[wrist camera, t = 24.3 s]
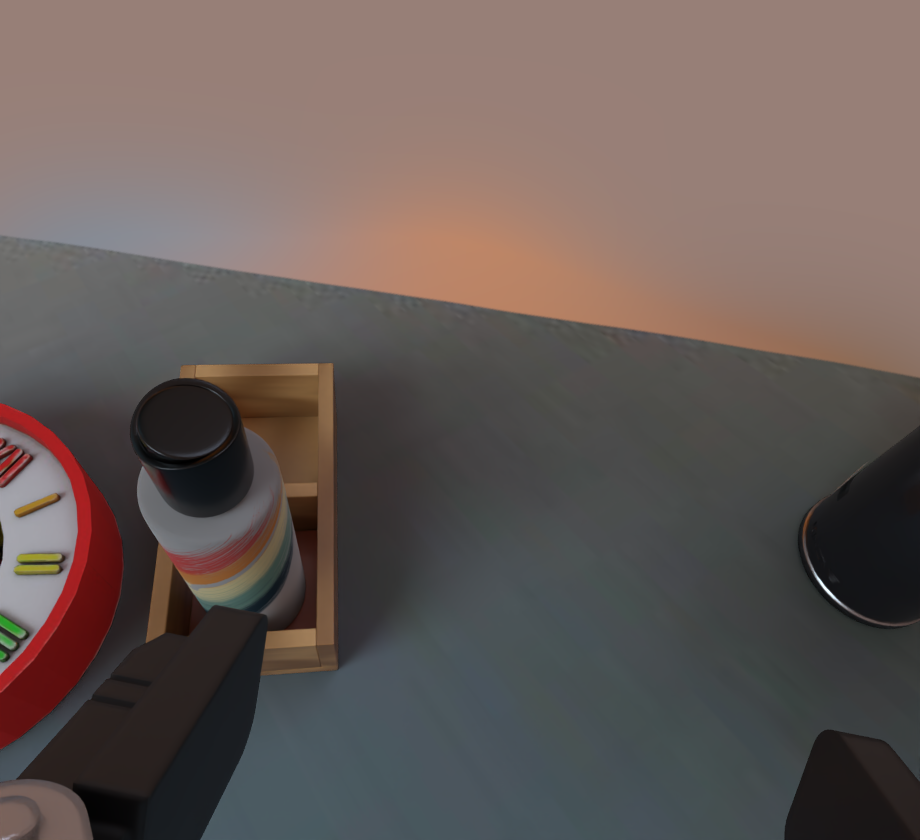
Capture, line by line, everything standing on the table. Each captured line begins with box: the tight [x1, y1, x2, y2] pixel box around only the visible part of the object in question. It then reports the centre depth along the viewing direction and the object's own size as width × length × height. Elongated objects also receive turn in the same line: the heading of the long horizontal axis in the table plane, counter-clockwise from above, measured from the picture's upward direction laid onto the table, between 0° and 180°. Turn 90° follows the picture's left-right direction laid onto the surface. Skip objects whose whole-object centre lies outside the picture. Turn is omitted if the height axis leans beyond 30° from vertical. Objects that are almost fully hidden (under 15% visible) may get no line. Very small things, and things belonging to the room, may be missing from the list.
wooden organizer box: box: [146, 363, 338, 676], centre depth 43 cm, size 9×18×6 cm, turn 5°
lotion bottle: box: [130, 378, 306, 631], centre depth 34 cm, size 6×6×20 cm
